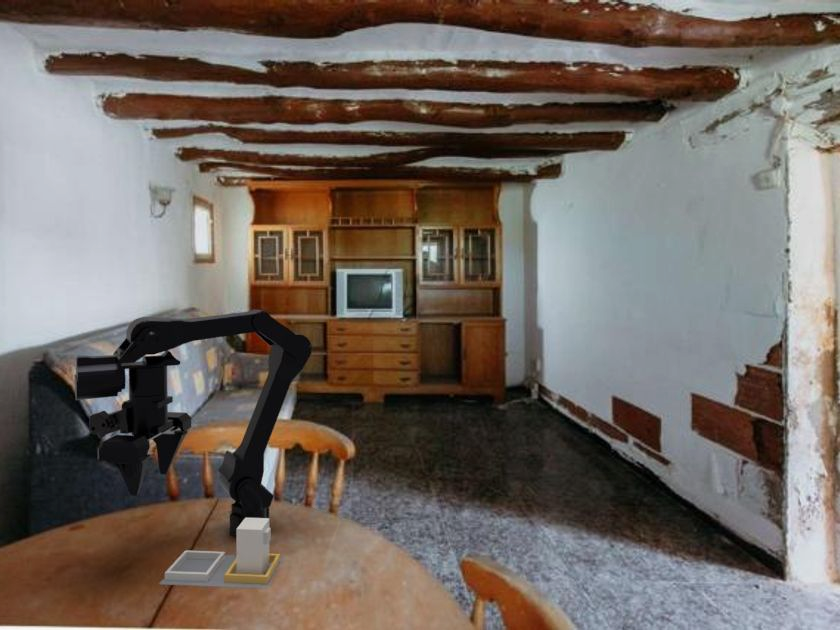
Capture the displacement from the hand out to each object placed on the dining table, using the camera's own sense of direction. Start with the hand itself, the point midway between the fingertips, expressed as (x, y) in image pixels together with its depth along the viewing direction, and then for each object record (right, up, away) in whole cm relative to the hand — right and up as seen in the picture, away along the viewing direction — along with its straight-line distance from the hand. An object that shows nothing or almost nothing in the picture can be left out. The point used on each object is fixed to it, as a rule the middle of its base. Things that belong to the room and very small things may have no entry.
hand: (149, 484), depth 89 cm
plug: (+18, -13, -3) cm, 23 cm away
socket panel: (+14, -14, -3) cm, 20 cm away
